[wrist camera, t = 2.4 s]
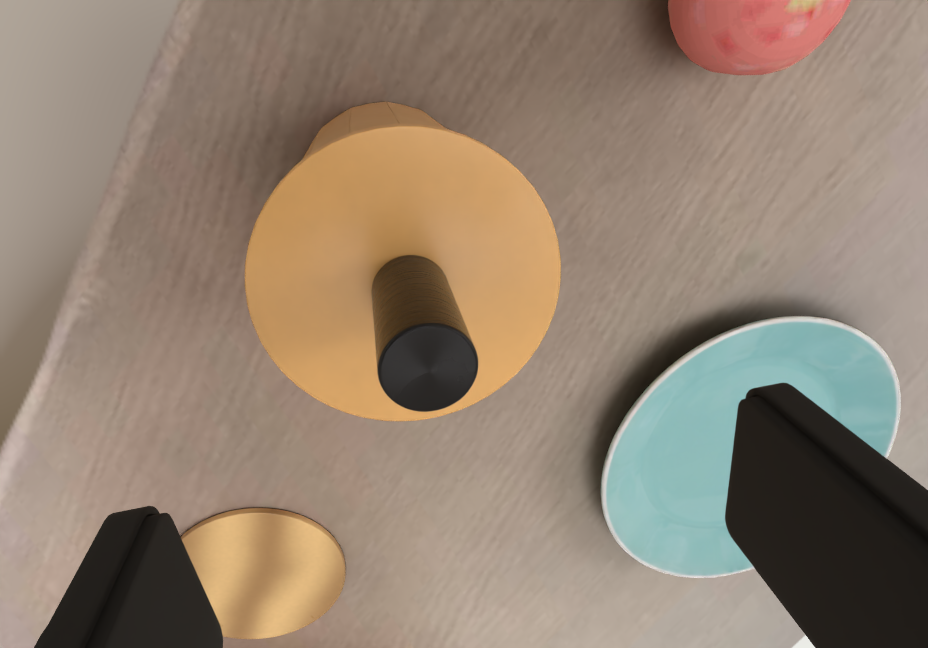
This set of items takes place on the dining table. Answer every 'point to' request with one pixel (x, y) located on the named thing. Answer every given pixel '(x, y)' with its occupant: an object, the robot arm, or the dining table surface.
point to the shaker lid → (402, 272)
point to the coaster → (265, 570)
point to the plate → (730, 433)
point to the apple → (752, 32)
